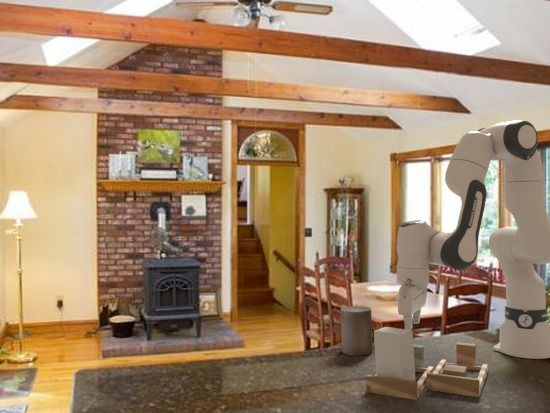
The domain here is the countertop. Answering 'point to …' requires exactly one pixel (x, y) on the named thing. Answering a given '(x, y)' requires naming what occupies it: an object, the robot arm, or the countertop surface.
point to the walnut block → (455, 370)
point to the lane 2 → (457, 383)
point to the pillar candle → (356, 330)
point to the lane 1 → (401, 380)
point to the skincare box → (394, 353)
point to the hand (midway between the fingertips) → (412, 326)
